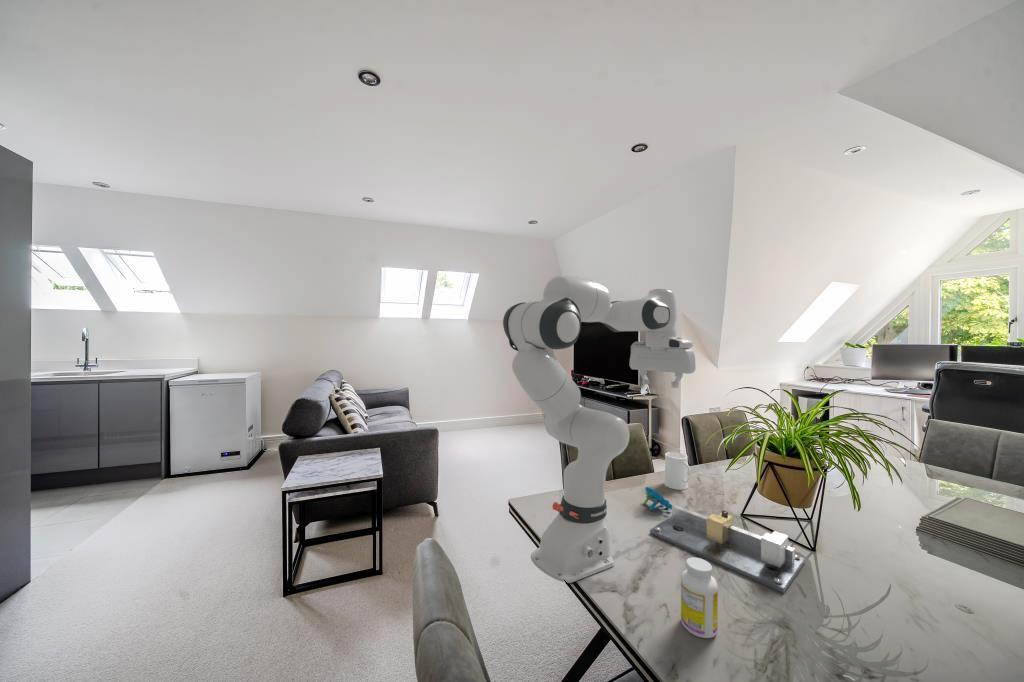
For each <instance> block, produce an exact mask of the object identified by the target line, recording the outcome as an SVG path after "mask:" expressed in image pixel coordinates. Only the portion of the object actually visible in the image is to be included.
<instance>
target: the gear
mask: <svg viewBox="0 0 1024 682" xmlns="http://www.w3.org/2000/svg"><path fill="white" fill-rule="evenodd" d="M645 495H646V496H645V498H646V499H645V500H644V502H643V505H645V506H646V504H647V503H648V502H653V503H652V504H651V505H650V507H649V510H650V512H652V511H653V510H654V509H655V507H656V506H657V505H658V504H660V505H661V506H662V507H663V506H664V507H665V508H666V509H667V510H670V511H672V506H673V505H672V504H671V503H670V501H669V500H667V499H665V498H664V496H663V495H661V494H659V493H658V492H657V491H656V490H654V489H652V488H651V487H650V486H649V487H648V486H645Z"/></svg>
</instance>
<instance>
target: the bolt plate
mask: <svg viewBox="0 0 1024 682" xmlns="http://www.w3.org/2000/svg"><path fill="white" fill-rule="evenodd" d="M649 534H650V535H652V536H654V537H656V538H659V539H662V540H663V541H665V542H668V543H670V544H672V545H675V546H677V547H679V548H682V549H683V550H686V551H688V552H690V553H692V554H695V555H697V556H699V557H702V559H705V560H709V561H710V562H712V563H715V564H717V565H719V566H722V567H724V568H726V569H728V570H730V571H733V572H734V573H737V574H739V575H742V576H744V577H745V578H749V579H751V580H753V581H754V582H758V583H760V584H761V585H764V586H766V587H768V588H770V589H773V590H775V591H777V592H779V593H782V594H785V592H786V590H787V589H788V588H789V586H790V585H791V584H792V583H793V581H794V579H795V578H796V577H797V575H798V573H799V572H800V570H801V569H802V568H803V566H804V565H805V561H806V560H805V558H804V557H802V556H800V555H799V554H797V553H795V563H794V565H793V567H791V566H788V565H786V564H782V566H781V567H778V566H775V569H773V568H771V567H770V563H768V562H765V561H763V560H761V555H760V554H758V553H755V552H753V551H750V550H748V549H745V548H743V547H740V546H738V545H735V544H733V543H730V542H728V541H725V542H724V543H723V544H721V543H719V545H717V544H715V541H713V540H711V539H709V538H707V533H705V532H702V531H700V530H697V529H695V528H692V527H690V526H687V525H685V524H682V523H680V522H677V521H675V520H672V515H671V516H669V517H667V518H666V519H665V520H663V521H662V522H660V523H658V524H657V525H655V526H653V527H652V528H650V529H649Z"/></svg>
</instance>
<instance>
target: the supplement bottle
mask: <svg viewBox="0 0 1024 682" xmlns="http://www.w3.org/2000/svg"><path fill="white" fill-rule="evenodd" d="M685 564H686V565H685V568H686V569H685V570H683V572H682V573H681V575H680V621H681V624H682V626H683V627H684V629H685V630H687V631H688V632H689V633H690V634H692V635H693V636H695V637H698V638H700V639H701V638H703V639H711V638H714V637H716V635H717V634H718V629H719V628H718V627H719V625H718V624H719V623H718V616H719V615H718V614H719V613H718V612H719V611H718V608H719V607H718V605H719V604H718V602H719V601H718V600H719V599H718V598H719V597H718V596H719V593H718V591H719V586H718V582H717V580H716V578H715V577H714V576H712V575H713V567H712V565H711V563H710V562H709V561H707V560H706V559H704V558H700V557H693V556H692V557H688V558H687V559H686V561H685Z"/></svg>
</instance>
